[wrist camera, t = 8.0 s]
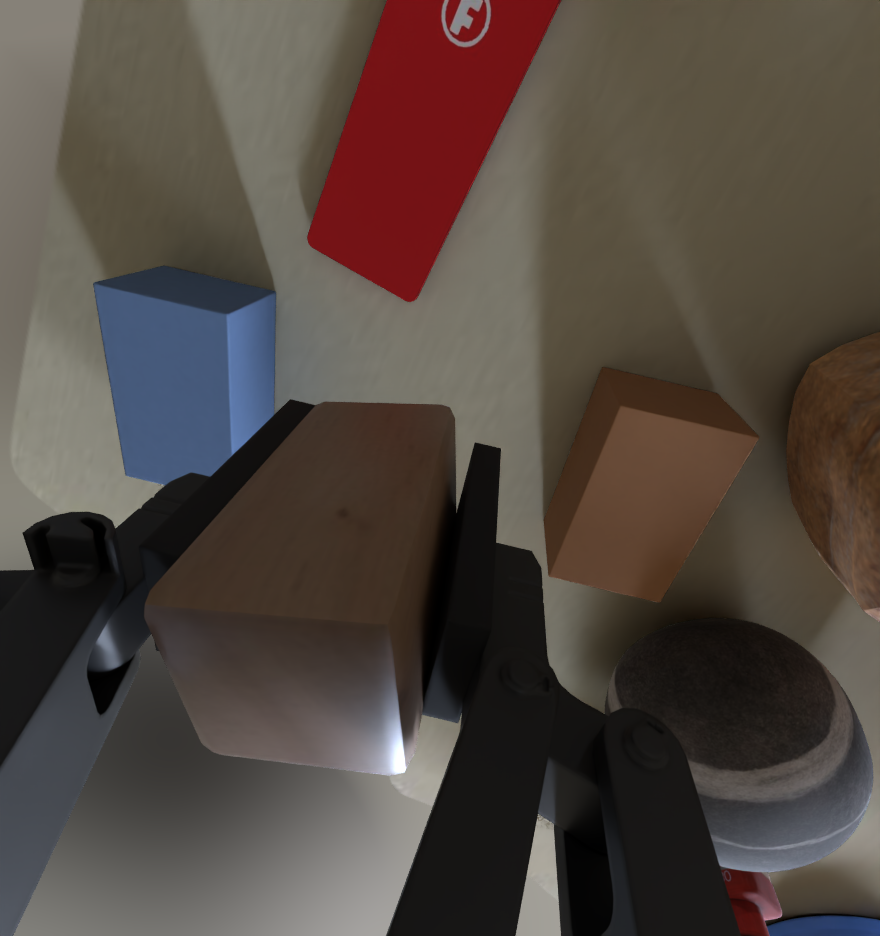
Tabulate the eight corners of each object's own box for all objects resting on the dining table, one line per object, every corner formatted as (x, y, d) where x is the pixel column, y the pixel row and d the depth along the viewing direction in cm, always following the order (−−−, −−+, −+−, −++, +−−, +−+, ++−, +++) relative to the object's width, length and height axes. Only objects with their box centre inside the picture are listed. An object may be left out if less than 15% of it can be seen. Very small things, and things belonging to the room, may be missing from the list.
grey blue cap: (562, 600, 33) (579, 746, 25) (805, 553, 29) (929, 710, 20) (626, 763, 41) (655, 916, 33) (823, 746, 37) (917, 916, 28)
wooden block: (456, 399, 13) (395, 626, 7) (457, 518, 15) (412, 788, 9) (315, 395, 14) (122, 603, 7) (334, 512, 16) (197, 762, 9)
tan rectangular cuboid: (543, 520, 30) (548, 576, 26) (602, 366, 25) (620, 404, 21) (639, 543, 30) (660, 603, 26) (718, 393, 25) (760, 437, 21)
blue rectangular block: (179, 434, 30) (124, 476, 26) (163, 264, 25) (91, 281, 21) (273, 456, 30) (234, 502, 26) (276, 291, 25) (227, 313, 21)
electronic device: (414, 303, 24) (604, -89, 17) (412, 306, 24) (607, -97, 16) (308, 242, 24) (457, -197, 16) (303, 243, 23) (455, -209, 16)
